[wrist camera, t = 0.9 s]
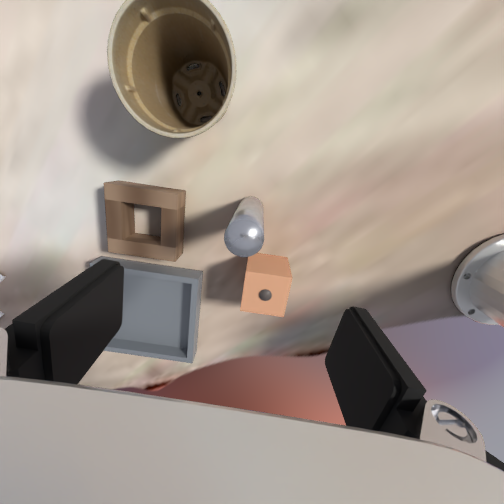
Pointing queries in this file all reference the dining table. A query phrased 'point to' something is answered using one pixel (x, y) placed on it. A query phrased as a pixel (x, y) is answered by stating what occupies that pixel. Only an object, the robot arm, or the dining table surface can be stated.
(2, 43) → the dining table surface
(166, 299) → the grey square tray
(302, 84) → the dining table surface
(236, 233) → the steel pin
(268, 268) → the orange block with knob
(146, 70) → the flower pot
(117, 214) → the walnut bore block
